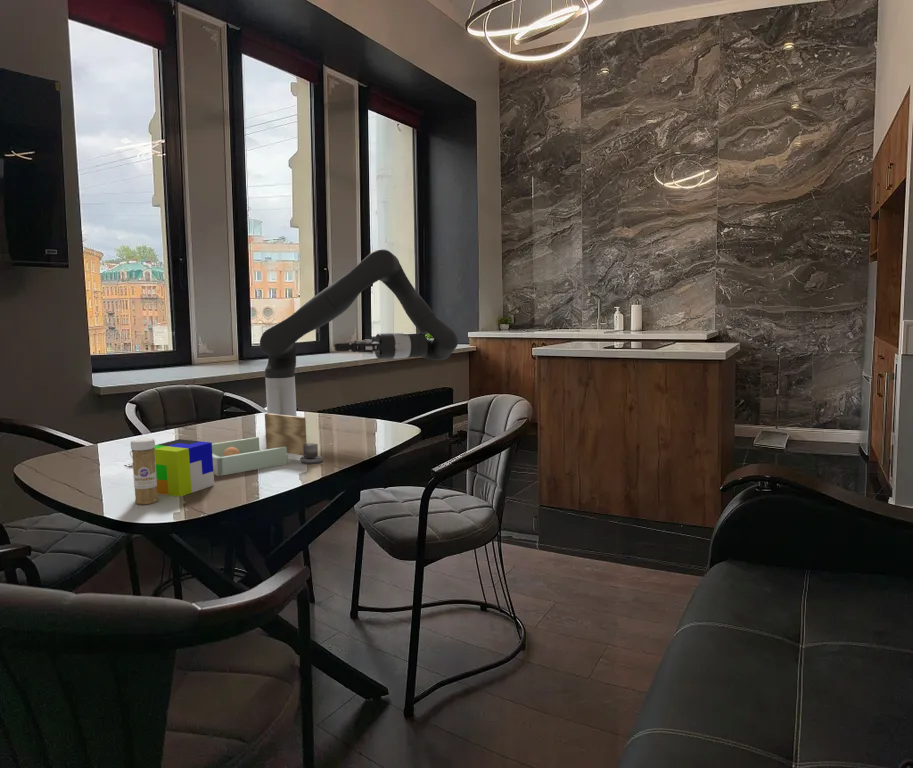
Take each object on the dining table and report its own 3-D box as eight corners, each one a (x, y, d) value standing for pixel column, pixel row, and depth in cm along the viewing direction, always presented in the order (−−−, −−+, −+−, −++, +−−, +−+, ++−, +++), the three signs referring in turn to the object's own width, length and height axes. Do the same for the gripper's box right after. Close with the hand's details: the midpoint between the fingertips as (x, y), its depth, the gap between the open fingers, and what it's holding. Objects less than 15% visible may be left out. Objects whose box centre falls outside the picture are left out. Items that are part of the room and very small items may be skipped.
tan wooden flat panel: (320, 455, 175) (319, 417, 174) (310, 458, 172) (309, 419, 171) (273, 448, 184) (271, 412, 183) (263, 450, 181) (261, 414, 180)
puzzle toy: (214, 485, 154) (211, 442, 152) (179, 497, 145) (176, 451, 143) (182, 480, 158) (179, 439, 157) (146, 492, 149) (143, 448, 148)
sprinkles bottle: (137, 506, 138) (132, 442, 136) (133, 501, 142) (128, 438, 140) (161, 502, 141) (156, 439, 139) (156, 497, 144) (152, 436, 143)
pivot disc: (298, 460, 176) (297, 456, 176) (319, 458, 178) (319, 454, 178) (302, 465, 171) (302, 461, 171) (324, 462, 173) (324, 458, 173)
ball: (238, 458, 178) (223, 461, 176) (237, 443, 177) (221, 446, 175) (242, 462, 175) (226, 465, 173) (240, 448, 174) (224, 451, 172)
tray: (192, 463, 175) (191, 446, 174) (257, 452, 186) (257, 436, 186) (218, 476, 161) (216, 458, 161) (287, 463, 173) (286, 447, 172)
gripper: (385, 332, 205) (329, 332, 198) (400, 334, 193) (340, 335, 186) (385, 356, 206) (329, 358, 199) (400, 360, 194) (341, 362, 187)
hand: (335, 347), depth 192 cm, fingers closed
